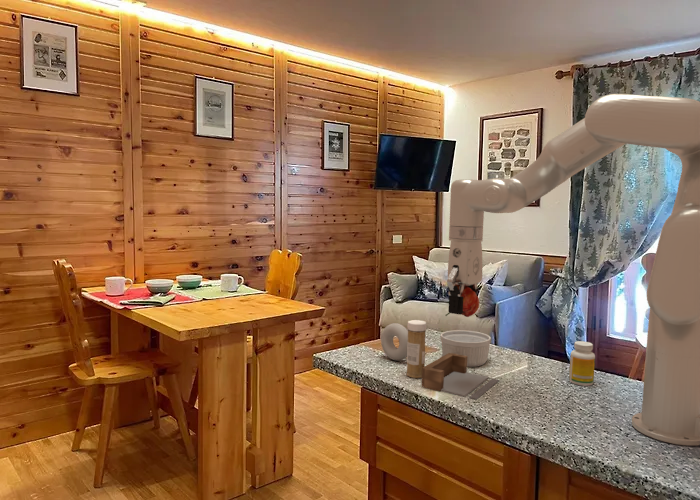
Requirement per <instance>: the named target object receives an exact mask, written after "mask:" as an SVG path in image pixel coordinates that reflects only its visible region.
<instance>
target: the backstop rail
mask: <svg viewBox="0 0 700 500" xmlns="http://www.w3.org/2000/svg"><path fill="white" fill-rule="evenodd" d="M454 371H455V372H460V373H466V372H468V367H467V356H464V355H459V354H454V353H448V354H446V355H444V356H443V355H442V356H441V357H439V358H437V359H435V360H434V361H432V362H430V363H428V364H427V365H425V367H423V368H422V378H421V388H424V389H427V390H433V391H436V392H442V391H441V389H442V388H443V385H444V377H446V376H448V375H449V374H451V373H452V372H454Z"/></svg>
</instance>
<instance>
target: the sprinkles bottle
mask: <svg viewBox="0 0 700 500" xmlns="http://www.w3.org/2000/svg"><path fill="white" fill-rule="evenodd" d="M406 325H407V327H406V329H407V330H408V341H407V357H406V363H407V365H406V373H405V374H406V376H407V377H409V378H413V379H422V368H423V367H425V366H426V365H425V364H426V363H425V362H426V332H427V331H426V330H427V322H426V320H425V321H424V320H421V319H420V320H419V319H413V320H411V319H410V320H408V321H407V324H406Z"/></svg>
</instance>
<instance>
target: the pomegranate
mask: <svg viewBox="0 0 700 500" xmlns="http://www.w3.org/2000/svg"><path fill="white" fill-rule="evenodd" d="M457 288H458V290H459V287H458V286H457ZM478 292H480V288H478V287H477V289H475V290H472V289H471V288H469V287H467V286H464V289H463V293H462V296H461V297H463V314H461V315H462V316H463V317H466V318H469V317H472V316H474V314H476V312H478V309H479V307H480V298H479V296H478ZM476 293H477V295H476ZM450 314H451V313H449V312H447V313H446V314H445V317H447V316H448V315H450ZM461 315H460V316H461Z"/></svg>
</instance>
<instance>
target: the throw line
mask: <svg viewBox="0 0 700 500" xmlns="http://www.w3.org/2000/svg"><path fill="white" fill-rule="evenodd" d="M499 382H500V379H497V378H492V379H490V380H489V381H488V382H486V383H485V384H484V385H483V386H481V387H480V388H479V389H478V390H476V391H475V392H474V393H472V394H471V395H469V399H472V400H478V399H479V398H480V397H482V396H483V395H484V394H485V393H486V392H487V391H489V390H490V389H491V388H492V387H494V386H495V385H496V384H498V383H499Z"/></svg>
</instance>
